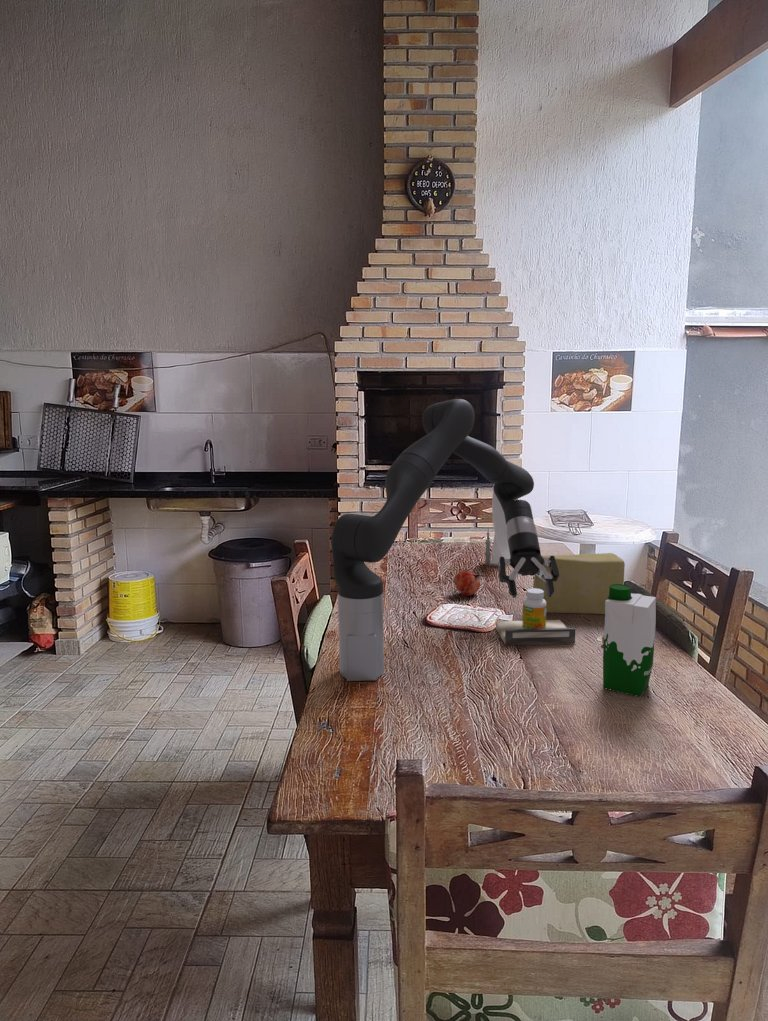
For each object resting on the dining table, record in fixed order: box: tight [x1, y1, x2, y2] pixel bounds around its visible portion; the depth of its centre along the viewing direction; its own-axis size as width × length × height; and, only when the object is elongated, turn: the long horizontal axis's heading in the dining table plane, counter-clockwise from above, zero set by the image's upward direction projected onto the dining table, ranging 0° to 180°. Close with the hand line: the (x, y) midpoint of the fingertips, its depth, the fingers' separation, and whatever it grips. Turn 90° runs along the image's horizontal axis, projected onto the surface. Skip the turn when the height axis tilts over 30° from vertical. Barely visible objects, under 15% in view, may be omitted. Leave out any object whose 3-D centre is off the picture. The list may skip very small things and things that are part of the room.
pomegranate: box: [453, 569, 482, 597], centre depth 196 cm, size 7×7×10 cm
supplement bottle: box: [521, 587, 547, 629], centre depth 162 cm, size 5×5×10 cm
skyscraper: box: [483, 488, 510, 567], centre depth 228 cm, size 8×8×28 cm
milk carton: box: [602, 584, 657, 697], centre depth 134 cm, size 9×9×20 cm
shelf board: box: [494, 619, 577, 646], centre depth 164 cm, size 12×16×4 cm
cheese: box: [532, 552, 626, 615], centre depth 180 cm, size 22×10×15 cm, turn 90°
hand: (532, 595), depth 166 cm, fingers open, 8 cm apart
